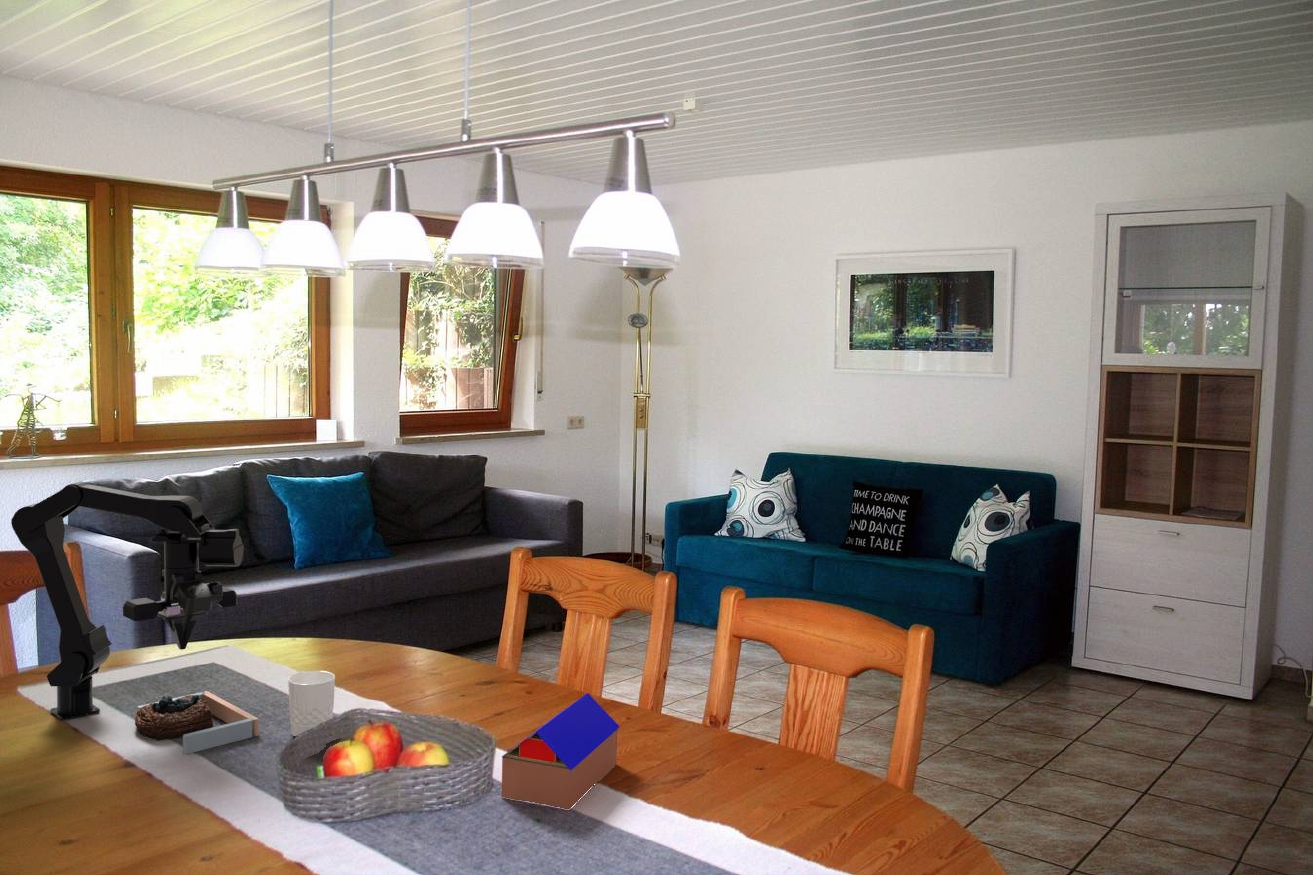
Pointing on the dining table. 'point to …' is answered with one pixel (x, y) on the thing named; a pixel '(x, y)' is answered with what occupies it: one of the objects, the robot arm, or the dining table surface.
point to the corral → (235, 730)
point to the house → (562, 756)
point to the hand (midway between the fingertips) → (182, 648)
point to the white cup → (310, 699)
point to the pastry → (173, 717)
